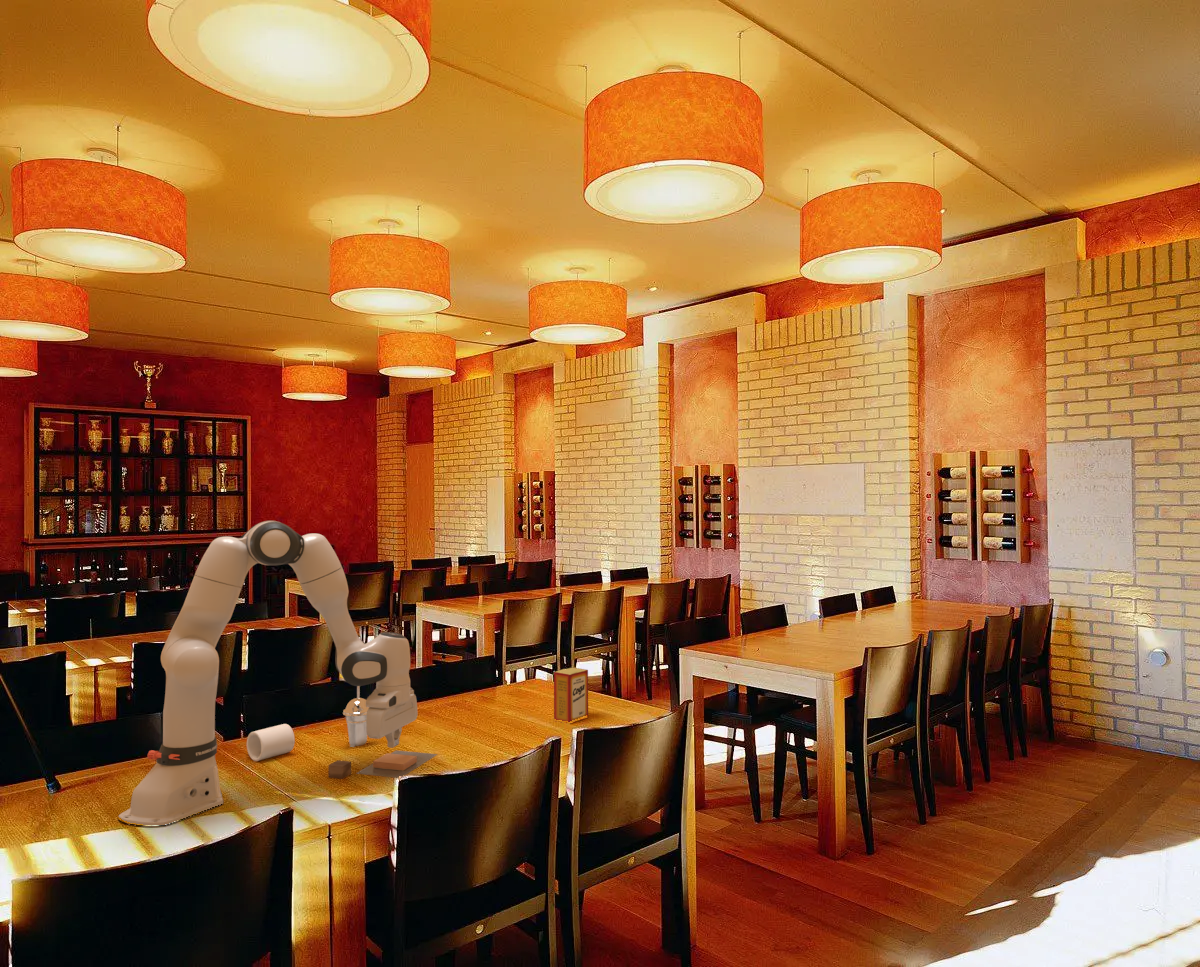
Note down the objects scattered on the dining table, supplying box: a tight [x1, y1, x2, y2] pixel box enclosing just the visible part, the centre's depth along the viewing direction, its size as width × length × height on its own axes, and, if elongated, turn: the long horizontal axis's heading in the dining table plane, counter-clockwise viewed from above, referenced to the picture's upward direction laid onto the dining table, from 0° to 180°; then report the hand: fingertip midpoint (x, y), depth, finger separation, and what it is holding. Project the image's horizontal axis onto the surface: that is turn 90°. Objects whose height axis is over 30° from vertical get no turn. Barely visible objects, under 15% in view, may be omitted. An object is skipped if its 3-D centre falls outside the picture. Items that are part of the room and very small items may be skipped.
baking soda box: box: [553, 666, 589, 722], centre depth 265 cm, size 10×6×16 cm
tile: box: [372, 752, 417, 771], centre depth 217 cm, size 2×9×7 cm
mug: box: [246, 723, 296, 762], centre depth 229 cm, size 12×10×8 cm
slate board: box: [355, 750, 438, 779], centre depth 218 cm, size 20×13×1 cm, turn 164°
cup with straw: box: [339, 677, 369, 748], centre depth 237 cm, size 8×9×20 cm
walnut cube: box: [328, 760, 352, 780], centre depth 209 cm, size 4×4×4 cm
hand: (393, 746), depth 216 cm, fingers closed
